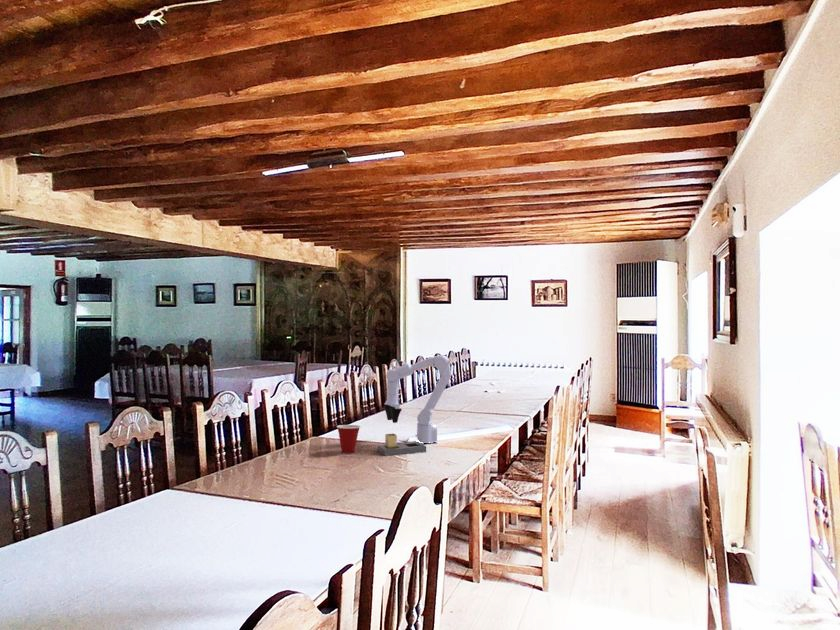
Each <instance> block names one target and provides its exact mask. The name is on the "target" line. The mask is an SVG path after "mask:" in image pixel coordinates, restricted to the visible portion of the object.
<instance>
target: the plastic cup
mask: <svg viewBox="0 0 840 630" xmlns="http://www.w3.org/2000/svg"><path fill="white" fill-rule="evenodd" d="M336 428H337V430H338V437H339V443H340V448H341V453H343V454H353V453H355V451H356V445H357V441H358V435H359V432H360V428H361V426H360V425H357V424H356V425H355V424H342V425H341V424H339V425H336Z"/></svg>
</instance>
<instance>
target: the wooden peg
mask: <svg viewBox="0 0 840 630" xmlns="http://www.w3.org/2000/svg"><path fill="white" fill-rule="evenodd" d="M384 436H385V437H384V438H385V441H384V445H385V447H386V448H388V449H390V448H397V444H398V442H397V439H398V437H397V436H398V435H397V434H395V433H387V434H385V435H384Z"/></svg>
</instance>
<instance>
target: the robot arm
mask: <svg viewBox="0 0 840 630" xmlns="http://www.w3.org/2000/svg"><path fill="white" fill-rule="evenodd" d="M426 367H435V368H436V369H437V370H438V372H439V375H440V377H439V380H438V381H437V383H436V385H435V387H434V389H433V390H432V393H431V395H430V397H429V399H428V400H427V402H426V404H425V406H424V408H423V409H421V411H420V412H419V414H417V417H416V418H417V424H416V427H417V429H416V431H417V432H416V440H417V439H418V440H419V441H420V442H423V443H421V444H423V445H425V444H424V443H429V442H430V443H431V444H434V443H433V442H436V441H437V442H438V427H437V425H436V424H435V423H433V422H431V419H432V418H433V417H432V415H433V412H434V410H435V407H436V406H437V404H438V402H439V400H440V398H441V396H442V395H443V392H444V391H445V388H446V387H447V385H448V383H449V381H450V379H451V377H452V372H451V363H450V361H449V359H448V357H447V356H446V355H444V354H440V355H439V354H438V356H431V357H428V358H426V359H423V360H421V361H418V362H415V363H413V364H410V363H403V364H402V365H400V366H398V367H394V368H393V369H390V370H388V371H387V372H386V376H385V378H386V380H387V381H386V383H387V384H386V400H385V402H384V405H383V409H384V411H385V414H386V419H387V421H392V423H393V424H398V421H399V416H400V414H401V412H402V410H403V409H402V408H400V407H401V406H400V402H399V379H400V380H401V379H404V378H406V377H408V376H412V375H413V374H414V372H415V371H417V370H421V369H423V368H426Z"/></svg>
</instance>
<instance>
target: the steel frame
mask: <svg viewBox="0 0 840 630" xmlns="http://www.w3.org/2000/svg"><path fill="white" fill-rule="evenodd" d="M377 451H378V452H379V453H380V452H381V453H380V454H382V455H383V456H384V455H389V456H397V455H396V454H399V455H406V454H405V453H410V454H416V453H415V452H421V453H427V446H426V445H425V444H421V443H419V442H415V441H412V442H402V443H401V442H400V443H397V448H390V449H388V448H386V447H385V444H379V445H377Z"/></svg>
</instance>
